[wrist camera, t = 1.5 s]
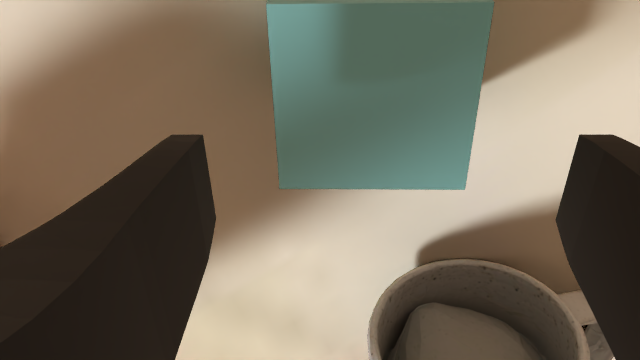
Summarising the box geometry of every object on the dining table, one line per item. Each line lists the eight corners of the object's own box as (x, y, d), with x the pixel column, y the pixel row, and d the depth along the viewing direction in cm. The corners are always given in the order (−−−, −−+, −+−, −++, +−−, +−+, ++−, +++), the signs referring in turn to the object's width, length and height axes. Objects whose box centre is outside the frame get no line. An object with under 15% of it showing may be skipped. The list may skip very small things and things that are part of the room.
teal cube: (438, 105, 19) (465, 189, 15) (293, 105, 19) (279, 188, 15) (455, -49, 16) (494, 2, 12) (285, -47, 16) (265, 4, 12)
